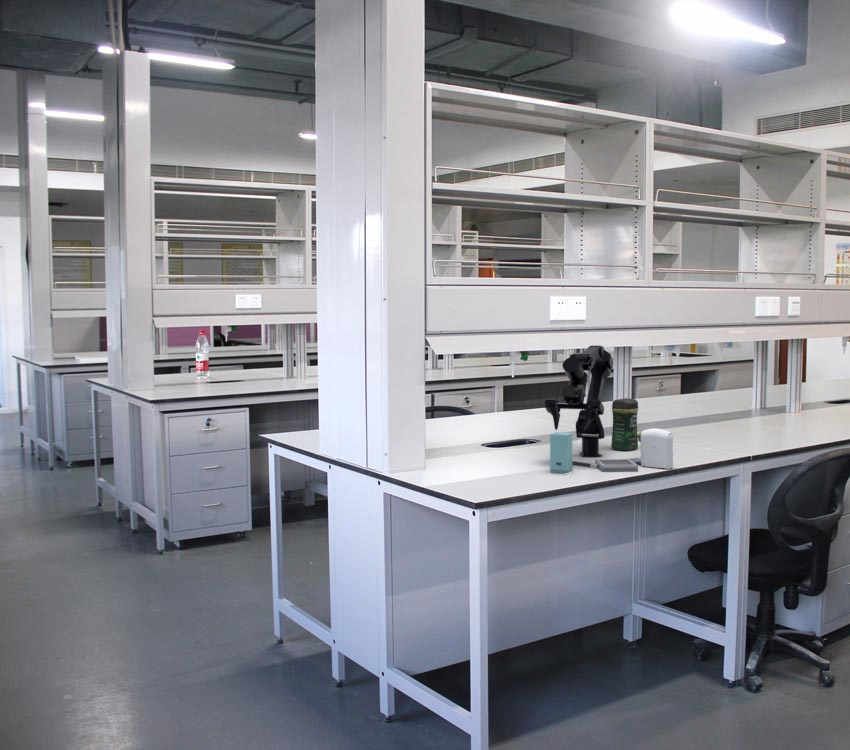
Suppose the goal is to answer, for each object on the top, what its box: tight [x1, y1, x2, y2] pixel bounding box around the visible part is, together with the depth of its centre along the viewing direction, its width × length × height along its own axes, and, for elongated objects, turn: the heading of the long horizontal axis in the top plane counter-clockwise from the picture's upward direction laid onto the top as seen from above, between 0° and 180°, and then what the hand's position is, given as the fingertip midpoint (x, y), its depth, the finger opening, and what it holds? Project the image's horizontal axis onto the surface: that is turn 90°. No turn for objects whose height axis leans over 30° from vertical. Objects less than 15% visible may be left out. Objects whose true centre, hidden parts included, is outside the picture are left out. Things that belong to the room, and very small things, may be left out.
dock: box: [594, 458, 639, 473], centre depth 255 cm, size 11×11×2 cm
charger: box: [549, 432, 574, 474], centre depth 251 cm, size 5×6×12 cm
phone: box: [629, 457, 641, 466], centre depth 263 cm, size 7×14×1 cm, turn 105°
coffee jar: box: [611, 397, 639, 452], centre depth 292 cm, size 10×8×19 cm
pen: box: [572, 460, 598, 469], centre depth 262 cm, size 14×1×1 cm, turn 40°
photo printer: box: [640, 427, 674, 470], centre depth 256 cm, size 10×4×12 cm, turn 47°
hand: (569, 430), depth 258 cm, fingers open, 9 cm apart
